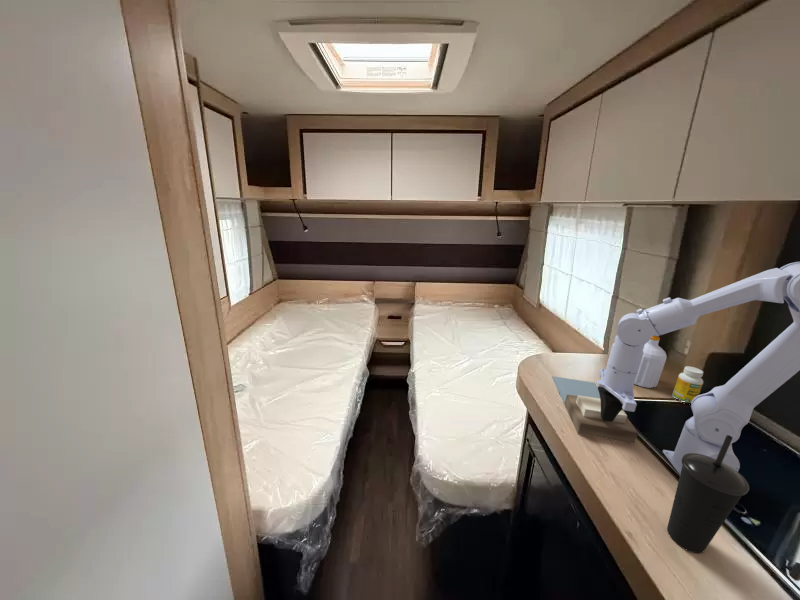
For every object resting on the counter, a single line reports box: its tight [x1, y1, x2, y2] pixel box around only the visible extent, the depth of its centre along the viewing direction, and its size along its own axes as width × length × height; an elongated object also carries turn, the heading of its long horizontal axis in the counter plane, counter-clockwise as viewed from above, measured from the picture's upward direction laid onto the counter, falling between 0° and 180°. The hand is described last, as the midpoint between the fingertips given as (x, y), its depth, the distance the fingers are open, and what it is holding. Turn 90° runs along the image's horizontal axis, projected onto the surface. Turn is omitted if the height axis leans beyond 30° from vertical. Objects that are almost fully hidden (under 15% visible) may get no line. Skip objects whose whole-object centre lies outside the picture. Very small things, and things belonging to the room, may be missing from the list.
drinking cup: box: [666, 435, 750, 554], centre depth 52 cm, size 8×8×20 cm
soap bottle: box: [634, 305, 667, 389], centre depth 101 cm, size 9×9×25 cm
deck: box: [564, 395, 639, 445], centre depth 82 cm, size 12×12×3 cm
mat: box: [551, 375, 600, 404], centre depth 95 cm, size 14×12×1 cm
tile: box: [576, 395, 628, 423], centre depth 82 cm, size 6×9×2 cm, turn 79°
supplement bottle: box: [671, 365, 704, 402], centre depth 94 cm, size 5×5×10 cm
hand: (606, 419), depth 78 cm, fingers closed
